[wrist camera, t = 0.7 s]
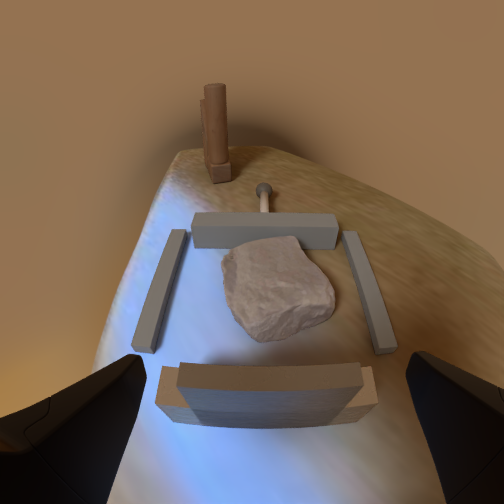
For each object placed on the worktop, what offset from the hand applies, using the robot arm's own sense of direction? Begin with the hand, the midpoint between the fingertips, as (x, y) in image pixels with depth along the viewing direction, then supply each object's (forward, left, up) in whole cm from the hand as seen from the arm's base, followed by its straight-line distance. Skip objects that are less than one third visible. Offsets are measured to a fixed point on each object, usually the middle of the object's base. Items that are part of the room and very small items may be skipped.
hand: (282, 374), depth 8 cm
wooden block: (+47, +9, -15) cm, 50 cm away
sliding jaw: (+3, 0, -15) cm, 15 cm away
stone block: (+16, 0, -15) cm, 22 cm away
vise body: (+22, 0, -15) cm, 27 cm away
